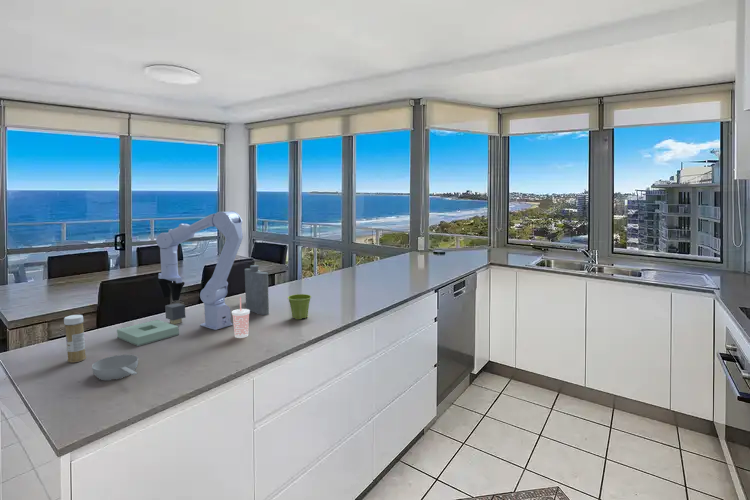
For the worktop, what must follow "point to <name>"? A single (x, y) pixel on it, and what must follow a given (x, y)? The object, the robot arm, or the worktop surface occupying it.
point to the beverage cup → (241, 322)
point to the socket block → (147, 332)
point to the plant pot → (299, 305)
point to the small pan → (115, 367)
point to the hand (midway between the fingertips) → (171, 298)
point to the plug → (175, 312)
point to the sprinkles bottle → (75, 338)
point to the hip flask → (256, 290)
